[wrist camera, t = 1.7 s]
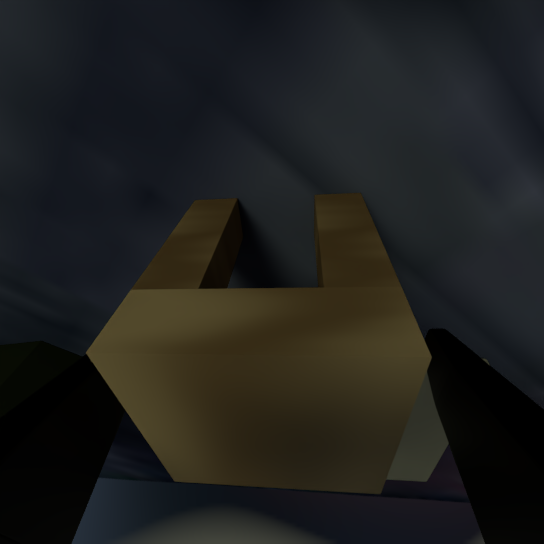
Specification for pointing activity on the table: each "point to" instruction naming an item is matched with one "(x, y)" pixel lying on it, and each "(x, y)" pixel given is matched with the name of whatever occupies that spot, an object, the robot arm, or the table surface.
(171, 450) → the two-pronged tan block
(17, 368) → the wine bottle
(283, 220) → the table surface
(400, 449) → the mat
